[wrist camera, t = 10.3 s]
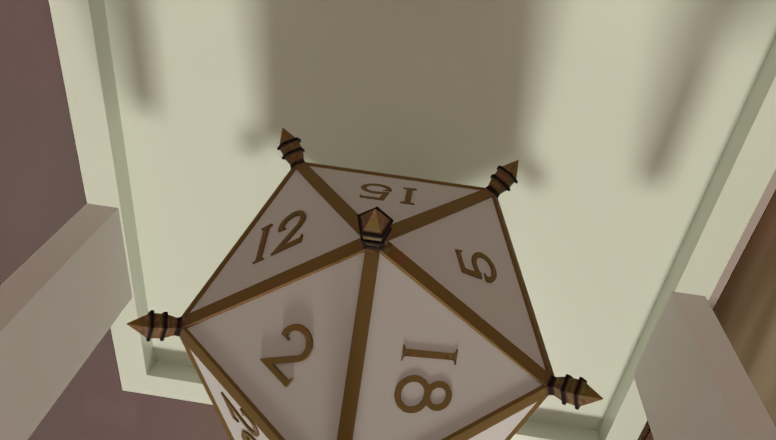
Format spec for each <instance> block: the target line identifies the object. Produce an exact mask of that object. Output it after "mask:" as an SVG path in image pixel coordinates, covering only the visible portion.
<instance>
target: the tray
mask: <svg viewBox="0 0 776 440" xmlns="http://www.w3.org/2000/svg"><path fill="white" fill-rule="evenodd" d="M49 5H50V10H51V15H52V21H53V26H54V31H55V36H56V42H57V47H58V52H59V58H60V63H61V68H62V73H63V79H64V84H65V89H66V94H67V100H68V105H69V110H70V116H71V121H72V126H73V131H74V137H75V142H76V147H77V152H78V158H79V163H80V168H81V174H82V179H83V184H84V189H85V195H86V200H87V203H88V204H95V205H102V206H108V207H115V208H118V209H119V215H120V222H121V228H122V234H123V241H124V247H125V253H126V260H127V266H128V272H129V279H130V285H131V291H132V298H131V300H130V301H129V302H128V304H127V305H126V307H125V308H124V309H123V311H122V312H121V313H120V315H119V316H118V317H117V319H116V320H115V321H114V323H113V324H112V326H111V332H112V337H113V342H114V348H115V353H116V358H117V363H118V369H119V374H120V379H121V385H122V390H124V391H131V392H137V393H143V394H149V395H155V396H162V397H168V398H174V399H180V400H187V401H193V402H199V403H205V404H211V405H213V404H212V402H211V400H210V398H209V396H208V394H207V392H206V390H205V388H204V386H203V384H202V382H201V380H200V378H199V375H198V373H197V371H196V369H195V367H194V365H193V363H192V361H191V359H190V357H189V355H188V353H187V351H186V349H185V347H184V345H183V343H182V341H181V339H180V337H179V336H175V335H174V336H170V337H166V338H164V341H160V338H151V339H150V341H147V340H146V337H144V336H143V335H141V334H140V333H139V332H137V331H136V330H134V329H133V328H131V327H130V326H129V325H127V324H126V323H129V322H131V321H133V320H135V319H138V318H140V317H142V316H145V315H147V314H148V312H149V311H151V310H154V313H159V314H162V313H163V312H168V315H171V316H174V317H176V318H178V317H181V316H182V315H183V313H184V312H185V311H186V309H187V308H188V307H189V305H190V304H191V303H192V301H193V300H194V299H195V297H196V296H197V294H198V293H199V292H200V290H201V289H202V288H203V286H204V285H205V284H206V282H207V281H208V280H209V278H210V277H211V276H212V274H213V273H214V272H215V270H216V269H217V268H218V266H219V265H220V264H221V262H222V261H223V260H224V258H225V257H226V256H227V254H228V253H229V252H230V250H231V249H232V247H233V246H234V245H235V243H236V242H237V241H238V239H239V238H240V237H241V235H242V234H243V233H244V231H245V230H246V229H247V227H248V226H249V225H250V223H251V222H252V221H253V219H254V218H255V217H256V215H257V214H258V213H259V211H260V210H261V209H262V207H263V206H264V204H265V203H266V202H267V200H268V199H269V198H270V196H271V195H272V194H273V192H274V191H275V190H276V188H277V187H278V186H279V184H280V183H281V182H282V180H283V179H284V178H285V176H286V175H287V174H288V172H289V171H290V170H291V167H290V164H289V163H288V162H287V161H286V160H285V159H284V160H283V159H282V156H283V154H282V152H281V150H277V147H278V146H279V145H280V139H281V133H282V127H283V128H284V129H285V130H287V131H288V132H289V133H290V134H292V135H293V136H294V137H295V138H296V137H298V138H299V139H301V142H300V145H301V147H302V148H303V149H304V150H305V152H303V155H304V161H305V162H308V163H315V164H322V165H329V166H336V167H343V168H350V169H357V170H364V171H371V172H378V173H385V174H392V175H399V176H406V177H413V178H420V179H427V180H434V181H441V182H448V183H455V184H462V185H469V186H476V187H483V188H486V187H487V186H488V185H489V183H490V181H491V178H490V176H491V175H492V174H495V173H496V172H497V169H496V168H497V167H498V166H499V165H501V166H504V165H506V164H509V163H512V162H514V161H517V160H519V162H518V170H517V178H516V179H517V181H518V183H517V184H516V183H513V184H512V186H511V187H510V189H511V190H510V191H507V190H506V191H505V192H503V193H502V194H500V195H499V197H498V201H499V204H500V207H501V210H502V213H503V216H504V219H505V223H506V226H507V229H508V232H509V235H510V238H511V241H512V244H513V248H514V251H515V254H516V257H517V260H518V263H519V266H520V269H521V273H522V276H523V279H524V282H525V285H526V288H527V291H528V294H529V298H530V301H531V304H532V307H533V310H534V313H535V316H536V319H537V323H538V326H539V329H540V332H541V335H542V338H543V341H544V344H545V348H546V351H547V354H548V357H549V360H550V363H551V366H552V369H553V373H554V376H555V377H565V376H566V374H568V375H570V376H572V377H573V378H575V379H579V377H583V378H584V379H585V380H587V384H588V385H589V386H590V387H591V388H592V389H593V390H594V391H596V392H597V393H598V394H599V395H600V396H601V397H602V398H603V399H602V400H599V401H596V402H593V403H590V404H586V405H583V406H580V408H579V409H578V410H577V409H575V406H574V405H571V404H569V403H566V405H563V404H562V401H561V400H560V399H558V398H557V397H555V396H554V395H548V397H547V398H546V399H545V400H544V401H543V402H542V404H541V405H540V406H539V407H538V408H537V409H536V410H535V412H534V413H533V414H532V415H531V416H530V417H529V419H528V420H527V421H526V422H525V423H524V424H523V426H522V427H521V428H520V429H519V430H518V431H517V433H516V434H515V435H514V436H513V437H512V438H511V439H510V440H638V438H639V436H640V434H641V432H642V430H643V428H644V426H645V424H646V422H647V417H646V414H645V411H644V407H643V404H642V401H641V398H640V395H639V392H638V389H637V386H636V383H635V379H634V376H633V374H634V372H635V370H636V367H637V365H638V363H639V361H640V359H641V357H642V354H643V352H644V350H645V348H646V346H647V344H648V342H649V339H650V337H651V335H652V333H653V331H654V329H655V326H656V324H657V322H658V320H659V318H660V316H661V314H662V311H663V309H664V307H665V305H666V303H667V301H668V298H669V296H670V294H671V292H672V291H674V292H681V293H687V294H694V295H701V296H705V297H706V299H707V300H708V301H709V299H710V297H711V295H712V293H713V291H714V289H715V287H716V285H717V283H718V281H719V279H720V277H721V275H722V273H723V272H724V270H725V268H726V265H727V264H728V262H729V260H730V258H731V256H732V254H733V252H734V250H735V248H736V246H737V244H738V242H739V240H740V238H741V236H742V234H743V232H744V230H745V228H746V227H747V225H748V223H749V221H750V219H751V217H752V215H753V213H754V211H755V209H756V207H757V205H758V203H759V201H760V199H761V197H762V195H763V193H764V191H765V189H766V187H767V186H768V184H769V182H770V180H771V178H772V176H773V174H774V172H775V170H776V0H49Z"/></svg>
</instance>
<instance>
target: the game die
mask: <svg viewBox="0 0 776 440" xmlns="http://www.w3.org/2000/svg"><path fill="white" fill-rule="evenodd" d="M300 142H301V139H299V138H298V137H296V138H295V137H294V136H293V135H292V134H290V133H289V132H288V131H287V130H285V129H284V128H283V127H282V133H281V139H280V145H279V146H278V147H277V150H281V152H282V154H283V156H282V159H283V160H284V159H285V160H286V161H287V162H288V163H289V164H290V167H291V170H290V171H289V172H288V174H287V175H286V176H285V178H284V179H283V180H282V182H281V183H280V184H279V186H278V187H277V188H276V190H275V191H274V192H273V194H272V195H271V196H270V198H269V199H268V200H267V202H266V203H265V204H264V206H263V207H262V209H261V210H260V211H259V213H258V214H257V215H256V217H255V218H254V219H253V221H252V222H251V223H250V225H249V226H248V227H247V229H246V230H245V231H244V233H243V234H242V235H241V237H240V238H239V239H238V241H237V242H236V243H235V245H234V246H233V247H232V249H231V250H230V252H229V253H228V254H227V256H226V257H225V258H224V260H223V261H222V262H221V264H220V265H219V266H218V268H217V269H216V270H215V272H214V273H213V274H212V276H211V277H210V278H209V280H208V281H207V282H206V284H205V285H204V286H203V288H202V289H201V290H200V292H199V293H198V294H197V296H196V297H195V299H194V300H193V301H192V303H191V304H190V305H189V307H188V308H187V309H186V311H185V312H184V313H183V315H182V316H181V317H178V318H176V317H174V316H171V315H168V312H163V313H162V314H159V313H154V310H151V311H149V312H148V314H147V315H145V316H142V317H140V318H138V319H135V320H133V321H131V322H129V323H126V324H127V325H129V326H130V327H131V328H133V329H134V330H136V331H137V332H139V333H140V334H141V335H143V336H144V337H146V340H147V341H150V339H151V338H160V341H164V338H166V337H170V336H174V335H175V336H179V337H180V339H181V341H182V343H183V345H184V347H185V349H186V351H187V353H188V355H189V357H190V359H191V361H192V363H193V365H194V367H195V369H196V371H197V373H198V375H199V378H200V380H201V382H202V384H203V386H204V388H205V390H206V392H207V394H208V396H209V398H210V400H211V402H212V404H213V406H214V408H215V410H216V412H217V414H218V416H219V418H220V420H221V422H222V424H223V426H224V428H225V430H226V432H227V434H228V436H229V438H230V440H510V439H511V438H512V437H513V436H514V435H515V434H516V433H517V431H518V430H519V429H520V428H521V427H522V426H523V424H524V423H525V422H526V421H527V420H528V419H529V417H530V416H531V415H532V414H533V413H534V412H535V410H536V409H537V408H538V407H539V406H540V405H541V404H542V402H543V401H544V400H545V399H546V398H547V397H548V395H554V396H555V397H557V398H558V399H560V400H561V401H562V404H563V405H566V403H569V404H571V405H574V406H575V409H577V410H578V409H579V408H580V406H583V405H586V404H590V403H593V402H596V401H599V400H602V399H603V398H602V397H601V396H600V395H599V394H598V393H597V392H596V391H594V390H593V389H592V388H591V387H590V386H589V385H588V384H587V380H585V379H584V378H583V377H579V379H575V378H573V377H572V376H570V375H568V374H566V376H565V377H555V376H554V373H553V369H552V366H551V363H550V360H549V357H548V354H547V351H546V348H545V344H544V341H543V338H542V335H541V332H540V329H539V326H538V323H537V319H536V316H535V313H534V310H533V307H532V304H531V301H530V298H529V294H528V291H527V288H526V285H525V282H524V279H523V276H522V273H521V269H520V266H519V263H518V260H517V257H516V254H515V251H514V248H513V244H512V241H511V238H510V235H509V232H508V229H507V226H506V223H505V219H504V216H503V213H502V210H501V207H500V204H499V201H498V197H499V195H500V194H502V193H503V192H505V191H506V190H507V191H510V190H511V189H510V187H511V186H512V184H513V183H516V184H517V183H518V181H517V179H516V178H517V170H518V162H519V160H517V161H514V162H512V163H509V164H506V165H504V166H501V165H499V166H498V167H497V168H496V169H497V172H496V173H495V174H492V175H491V176H490V178H491V181H490V183H489V185H488V186H487V187H486V188H483V187H476V186H469V185H462V184H455V183H448V182H441V181H434V180H427V179H420V178H413V177H406V176H399V175H392V174H385V173H378V172H371V171H364V170H357V169H350V168H343V167H336V166H329V165H322V164H315V163H308V162H305V161H304V155H303V152H305V150H304V149H303V148H302V147H301V145H300Z"/></svg>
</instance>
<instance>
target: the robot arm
mask: <svg viewBox="0 0 776 440" xmlns="http://www.w3.org/2000/svg"><path fill="white" fill-rule="evenodd" d="M131 298H132V291H131V285H130V279H129V272H128V266H127V260H126V253H125V247H124V241H123V234H122V228H121V222H120V215H119V209H118V208H115V207H108V206H102V205H95V204H88V203H87V204H86V205H85V206H84V207H83V208H82V209H81V210H80V211H78V212H77V213H76V214H75V215H74V216H73V217H72V218H71V219H70V220H69V221H68V222H67V223H66V224H65V225H64V226H63V227H62V228H61V229H59V230H58V231H57V232H56V233H55V234H54V235H53V236H52V237H51V238H50V239H49V240H48V241H47V242H46V243H45V244H44V245H43V246H42V247H40V248H39V249H38V250H37V251H36V252H35V253H34V254H33V255H32V256H31V257H30V258H29V259H28V260H27V261H26V262H25V263H24V264H22V265H21V266H20V267H19V268H18V269H17V270H16V271H15V272H14V273H13V274H12V275H11V276H10V277H9V278H8V279H7V280H6V281H5V282H3V283H2V284H1V285H0V440H28V438H29V437H30V436H31V434H32V433H33V432H34V430H35V429H36V428H37V426H38V425H39V423H40V422H41V421H42V419H43V418H44V417H45V415H46V414H47V413H48V411H49V410H50V408H51V407H52V406H53V404H54V403H55V402H56V400H57V399H58V398H59V396H60V395H61V394H62V392H63V391H64V389H65V388H66V387H67V385H68V384H69V383H70V381H71V380H72V379H73V377H74V376H75V374H76V373H77V372H78V370H79V369H80V368H81V366H82V365H83V364H84V362H85V361H86V360H87V358H88V357H89V355H90V354H91V353H92V351H93V350H94V349H95V347H96V346H97V345H98V343H99V342H100V341H101V339H102V338H103V336H104V335H105V334H106V332H107V331H108V330H109V328H110V327H111V326H112V324H113V323H114V321H115V320H116V319H117V317H118V316H119V315H120V313H121V312H122V311H123V309H124V308H125V307H126V305H127V304H128V302H129V301H130V300H131ZM633 376H634V379H635V383H636V386H637V389H638V392H639V395H640V398H641V401H642V404H643V407H644V411H645V414H646V417H647V420H648V423H649V426H650V429H651V432H652V436H653V439H654V440H776V427H775V425H774V423H773V421H772V420H771V418H770V416H769V414H768V412H767V410H766V408H765V407H764V405H763V403H762V401H761V399H760V397H759V395H758V393H757V392H756V390H755V388H754V386H753V384H752V382H751V380H750V379H749V377H748V375H747V373H746V371H745V369H744V367H743V366H742V364H741V362H740V360H739V358H738V356H737V354H736V353H735V351H734V349H733V347H732V345H731V343H730V341H729V339H728V338H727V336H726V334H725V332H724V330H723V328H722V326H721V325H720V323H719V321H718V319H717V317H716V315H715V313H714V312H713V310H712V308H711V306H710V304H709V302H708V300H707V299H706V297H705V296H701V295H694V294H687V293H681V292H674V291H672V292H671V294H670V296H669V298H668V301H667V303H666V305H665V307H664V309H663V311H662V314H661V316H660V318H659V320H658V322H657V324H656V326H655V329H654V331H653V333H652V335H651V337H650V339H649V342H648V344H647V346H646V348H645V350H644V352H643V354H642V357H641V359H640V361H639V363H638V365H637V367H636V370H635V372H634V374H633Z"/></svg>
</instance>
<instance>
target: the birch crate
mask: <svg viewBox="0 0 776 440" xmlns="http://www.w3.org/2000/svg"><path fill="white" fill-rule="evenodd" d="M713 312H714V313H715V315H716V317H717V319H718V321H719V323H720V325H721V326H722V328H723V330H724V332H725V334H726V336H727V338H728V339H729V341H730V343H731V345H732V347H733V349H734V351H735V353H736V354H737V356H738V358H739V360H740V362H741V364H742V366H743V367H744V369H745V371H746V373H747V375H748V377H749V379H750V380H751V382H752V384H753V386H754V388H755V390H756V392H757V393H758V395H759V397H760V399H761V401H762V403H763V405H764V407H765V408H766V410H767V412H768V414H769V416H770V418H771V420H772V421H773V423H774V425H775V427H776V190H775V192H774V194H773V196H772V198H771V200H770V202H769V204H768V206H767V207H766V209H765V211H764V213H763V215H762V217H761V219H760V221H759V223H758V225H757V226H756V228H755V230H754V232H753V234H752V236H751V238H750V240H749V242H748V244H747V246H746V248H745V249H744V251H743V253H742V255H741V257H740V259H739V261H738V263H737V265H736V267H735V269H734V270H733V272H732V274H731V276H730V278H729V280H728V282H727V284H726V286H725V288H724V290H723V292H722V293H721V295H720V297H719V299H718V301H717V303H716V305H715V307H714V309H713ZM645 440H654V439H653V436H652V432H651V429H650V431H649V433H648V435H647V437H646V439H645Z"/></svg>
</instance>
